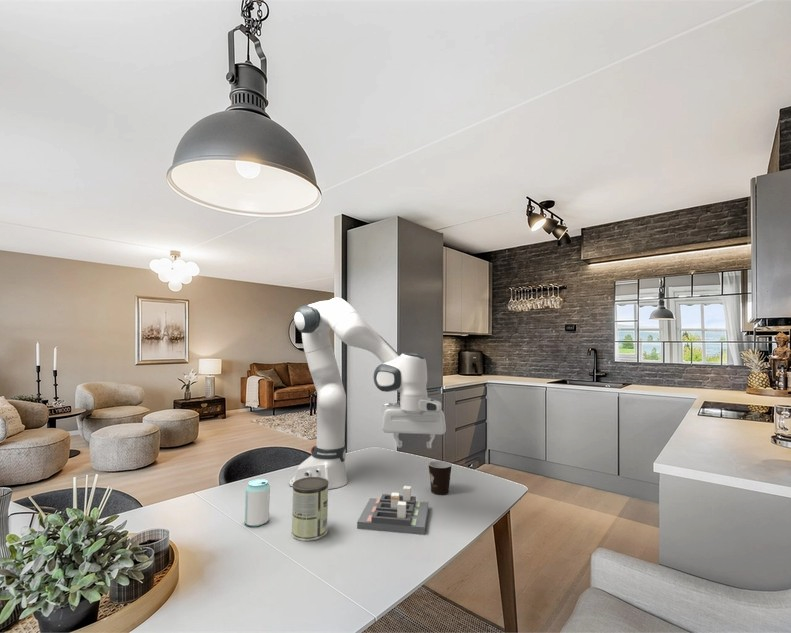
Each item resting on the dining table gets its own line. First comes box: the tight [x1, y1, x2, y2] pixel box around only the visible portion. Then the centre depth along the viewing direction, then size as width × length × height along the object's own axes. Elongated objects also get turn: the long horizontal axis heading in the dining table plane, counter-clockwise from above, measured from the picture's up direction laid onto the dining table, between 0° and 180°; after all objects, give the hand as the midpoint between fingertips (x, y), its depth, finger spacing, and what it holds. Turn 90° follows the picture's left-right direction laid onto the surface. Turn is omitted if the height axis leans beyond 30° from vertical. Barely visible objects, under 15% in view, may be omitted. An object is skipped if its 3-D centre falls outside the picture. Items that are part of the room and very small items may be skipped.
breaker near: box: [397, 501, 406, 519], centre depth 117 cm, size 2×2×5 cm
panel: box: [356, 493, 429, 535], centre depth 123 cm, size 20×18×4 cm
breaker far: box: [402, 485, 412, 501], centre depth 129 cm, size 2×2×5 cm
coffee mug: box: [428, 460, 452, 496], centre depth 147 cm, size 12×9×10 cm
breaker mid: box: [390, 492, 400, 508], centre depth 123 cm, size 2×2×5 cm
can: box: [244, 478, 271, 527], centre depth 119 cm, size 7×7×12 cm
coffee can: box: [291, 477, 329, 542], centre depth 114 cm, size 10×10×14 cm
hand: (414, 447), depth 124 cm, fingers open, 8 cm apart
